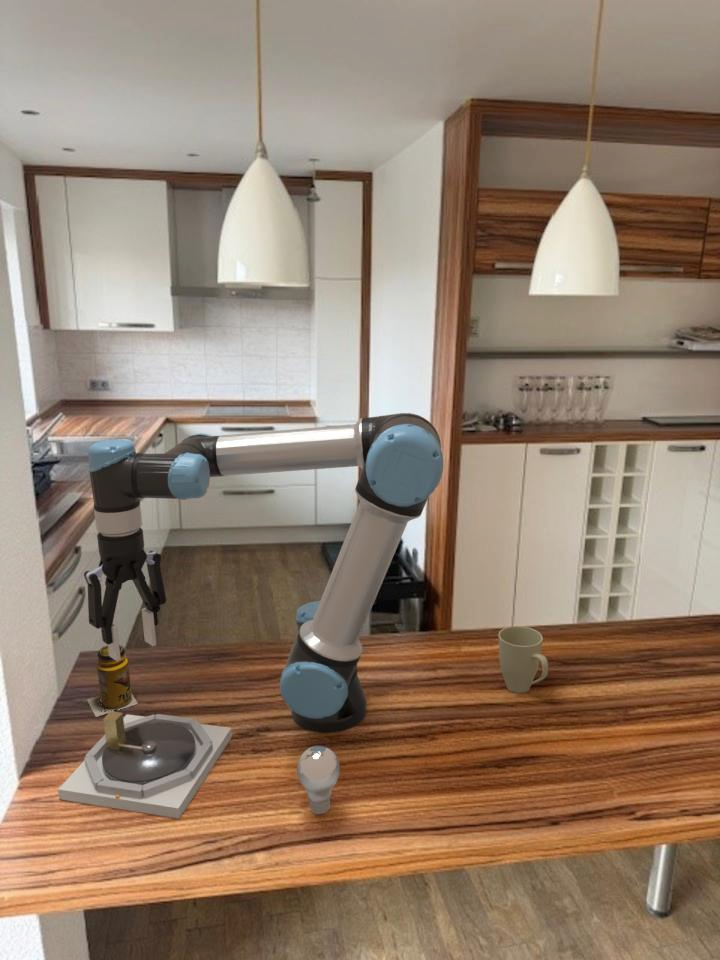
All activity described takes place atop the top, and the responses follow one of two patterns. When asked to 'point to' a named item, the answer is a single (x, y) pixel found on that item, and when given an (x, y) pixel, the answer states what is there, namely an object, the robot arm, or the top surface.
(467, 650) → the top surface
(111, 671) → the condiment
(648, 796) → the top surface
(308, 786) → the light bulb
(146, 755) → the dial
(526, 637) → the mug
